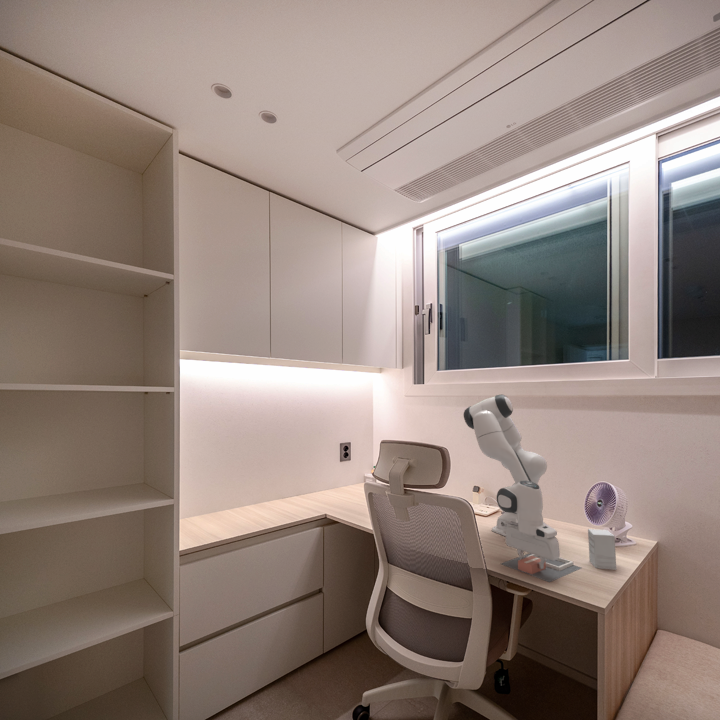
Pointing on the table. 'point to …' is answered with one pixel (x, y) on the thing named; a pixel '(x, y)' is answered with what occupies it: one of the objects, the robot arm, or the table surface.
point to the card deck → (530, 564)
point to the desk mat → (547, 573)
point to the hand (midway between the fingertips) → (531, 565)
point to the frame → (568, 564)
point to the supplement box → (602, 549)
